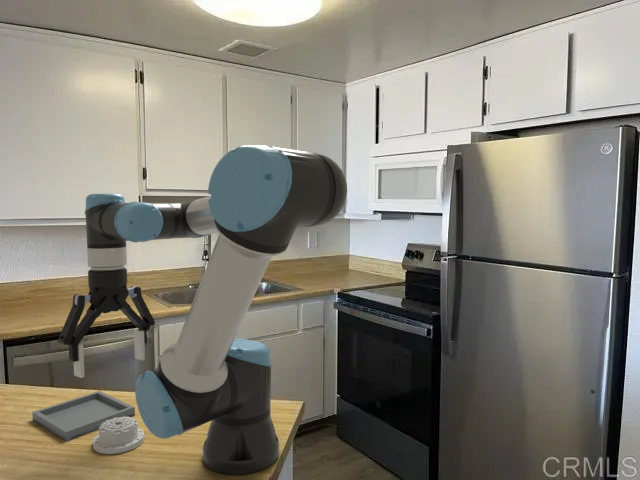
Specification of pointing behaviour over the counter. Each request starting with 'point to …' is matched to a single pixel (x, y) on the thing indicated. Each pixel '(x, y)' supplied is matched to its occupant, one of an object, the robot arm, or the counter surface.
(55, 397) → the counter surface
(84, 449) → the counter surface
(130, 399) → the counter surface
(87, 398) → the dock tray
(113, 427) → the mechanical component
